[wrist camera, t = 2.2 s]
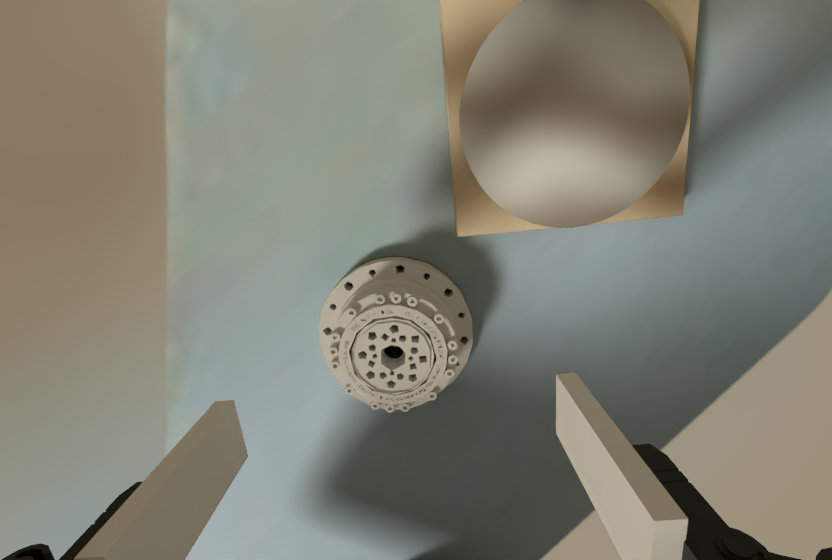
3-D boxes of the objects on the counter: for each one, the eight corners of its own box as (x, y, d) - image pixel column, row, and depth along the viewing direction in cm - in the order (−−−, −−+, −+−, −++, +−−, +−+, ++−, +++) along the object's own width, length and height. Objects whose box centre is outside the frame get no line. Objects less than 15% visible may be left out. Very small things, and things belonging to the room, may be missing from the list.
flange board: (666, 212, 24) (725, 221, 19) (455, 233, 24) (464, 246, 19) (689, -128, 19) (773, -223, 15) (432, -95, 20) (435, -178, 15)
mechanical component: (463, 397, 27) (478, 261, 25) (471, 438, 23) (490, 278, 20) (323, 388, 27) (324, 250, 25) (305, 427, 23) (304, 266, 20)
